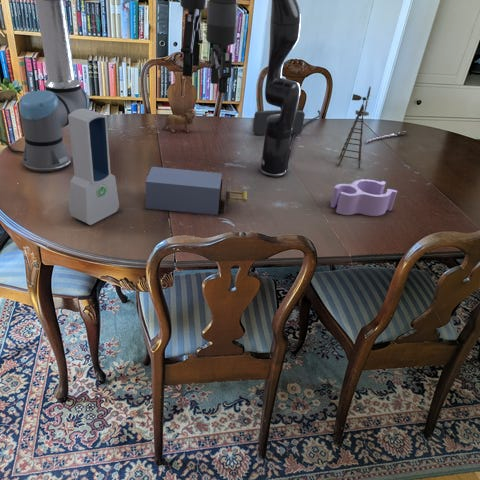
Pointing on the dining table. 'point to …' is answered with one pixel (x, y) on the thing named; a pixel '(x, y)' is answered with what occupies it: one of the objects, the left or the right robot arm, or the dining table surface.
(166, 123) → the lion figurine
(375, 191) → the clip
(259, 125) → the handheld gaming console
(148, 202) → the cabinet
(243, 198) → the drawer
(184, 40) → the left robot arm
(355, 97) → the miniature windmill
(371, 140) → the sword
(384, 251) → the dining table surface
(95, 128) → the electronic device
